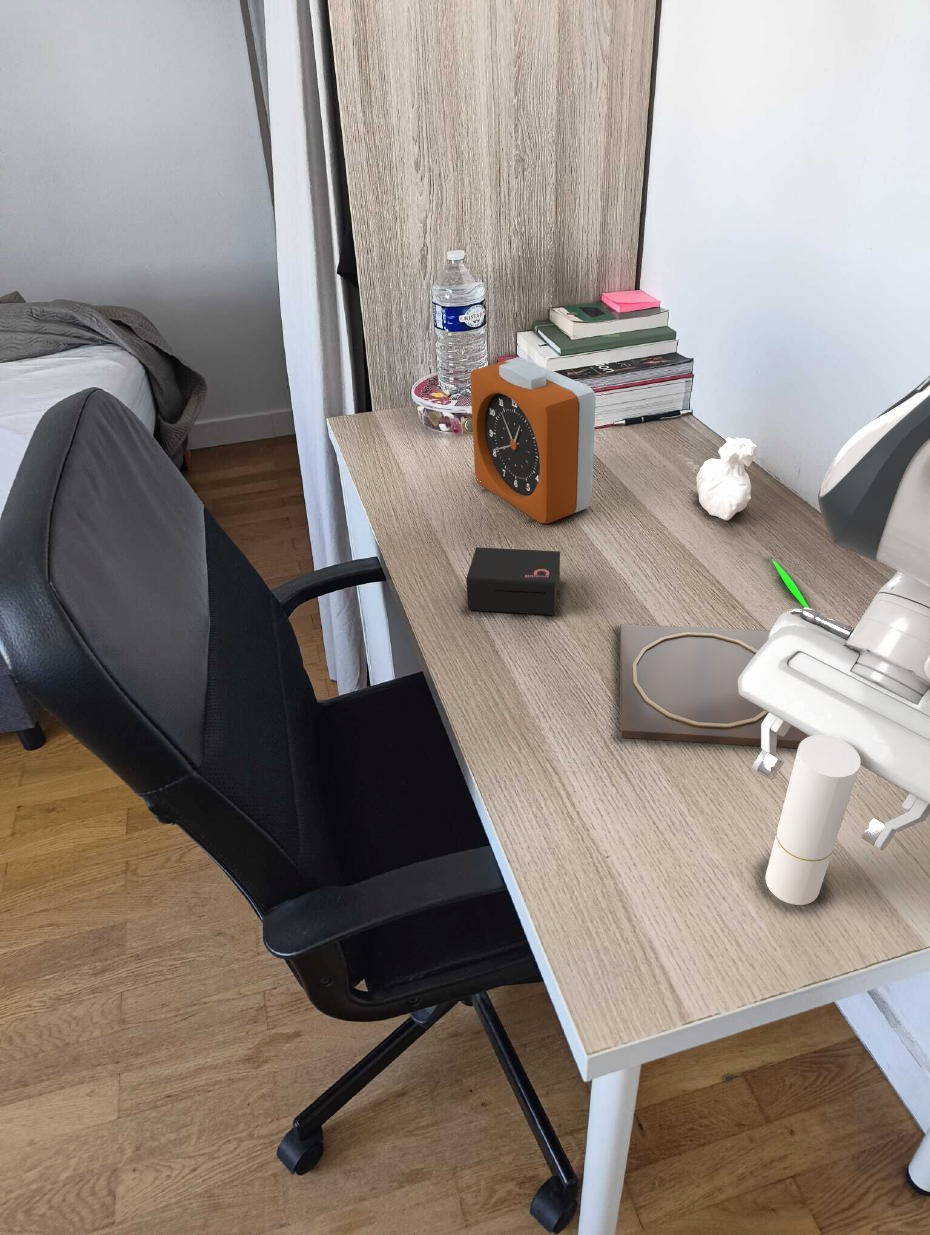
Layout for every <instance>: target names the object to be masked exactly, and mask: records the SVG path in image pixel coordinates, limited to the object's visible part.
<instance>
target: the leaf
mask: <svg viewBox="0 0 930 1235" xmlns="http://www.w3.org/2000/svg"><path fill="white" fill-rule="evenodd" d="M770 559H771V561H772V563H773V564H774V566H775V568H776V570H777V572H778V574H779V576H780V577H781V579H782V581H783V582H784V584H785V586H786V587H787V588H788V590H789V591H790V592H791V594H792V595H793V596H794V597H795V598H796V600H798V602H799V603H800V604H801V605H802V606H803V607H804V608H806V607H807V608H810V607H809V604H807V602H806V600H805V599H804V596H803V595H802V594H801V591H800V590H799V588H798V587H797V585H796V584H795V582H794V580H793V579H792V578H791V577H790V576H789V575H788V573H787V572H786V571H785V570H784V569H783V568H782V566H780V565H779V564H778V562H776V561H775V560H774V559H773V557H770Z"/></svg>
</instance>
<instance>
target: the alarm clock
mask: <svg viewBox="0 0 930 1235" xmlns="http://www.w3.org/2000/svg"><path fill="white" fill-rule="evenodd" d="M469 379H470V380H469V381H470V382H469V383H470V401H471V402H470V404H471V420H472V421H471V422H472V440H473V459H474V460H473V461H474V462H473V463H474V475H475V479H476V481H477V483H478V484H479V485H480V486H482V487H483V488H485V489H486V490H488V491H490V492H491V493H493V494H494V495H496V496H498V497H499V498H501V499H502V500H504V501H505V502H507V503H508V504H510V505H512V506H513V507H514V508H516V509H517V510H520V512H522V513H524V514H526V515H527V516H529V517H530V518H532V519H533V520H534V521H537V522H538V523H539V524H551V523H554V522H556V521H558V520H561V519H563V518H566V517H569V516H571V515H573V514H576V513H578V512H582V511H583V510H586V509H588V508H589V507H590V505H591V503H592V500H593V478H594V476H593V475H594V455H595V454H594V452H595V429H596V427H595V426H596V404H597V403H596V402H597V399H596V394H595V391H594V390H593V389H592V388H591V386H589V385H586V384H585V383H581V382H579V381H577V380H575V379H571V378H570V377H567V376H565V375H563V374H560V373H558V372H556V371H554V370H551V369H549V368H546V367H544V366H542V365H540V364H537V363H535V362H533V361H530V360H528V359H525V358H523V357H520V356H517V357H514V358H511V359H507V360H503V361H500V362H497V363H493V364H489V365H486V366H483V367H482V366H481V367H478V368H475V369H473V370H472V371H471V373H470V375H469ZM477 479H478V480H477ZM480 481H481V482H480Z"/></svg>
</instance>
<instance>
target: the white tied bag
mask: <svg viewBox="0 0 930 1235" xmlns="http://www.w3.org/2000/svg"><path fill="white" fill-rule="evenodd" d="M758 452H759V449H758V446H757V445H756V444H755V443H754V442H753V441H752V439H749V438H739V437H736V438H735V439H734V438H731V437H730V436H729V437H726V441H725V443H724V444H723V445H722V446H720V447H719V449H718V454H719V456H720V458H709V459H707V460H705V461H704V463H703V464H702V465H701V467H700V469H699V471H698V473H697V474H696V478H695V479H696V480H695V481H696V491H697V493H698V502H699V504H700V505H701V507H702V508H703V510H705V511H707V512H708V514H709V515H710V516H714V517H717V518H719V519H721V520H723V521H729V520H731V519H732V518H733V517H734V516H735V514H737V513H739V512H741V511H743V510H744V509H745V508H746V507H747V506H748V503H749V501H750V500H751V499H752V497H751V492H752V484H751V480H750V476H749V474H748V473H747V471H746V469H745V466H746V467H750V465H751V464H752V462H753V461H754V459H756V456H757V454H758Z"/></svg>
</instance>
